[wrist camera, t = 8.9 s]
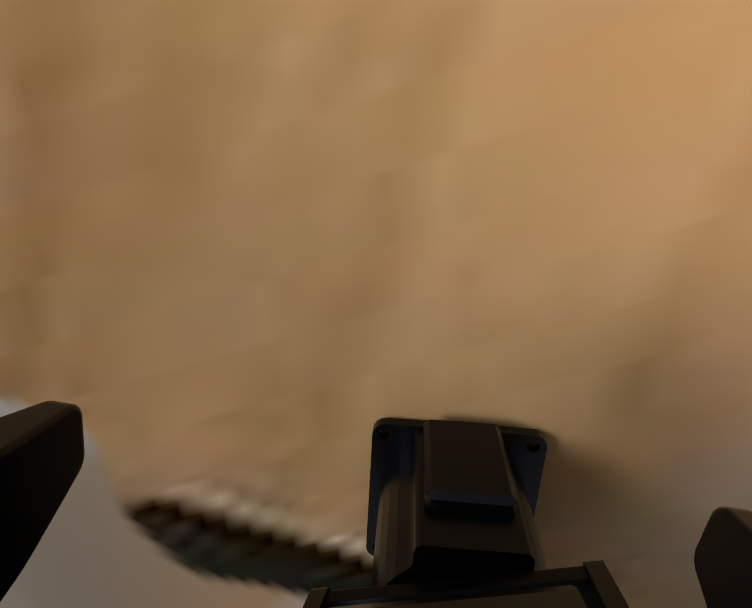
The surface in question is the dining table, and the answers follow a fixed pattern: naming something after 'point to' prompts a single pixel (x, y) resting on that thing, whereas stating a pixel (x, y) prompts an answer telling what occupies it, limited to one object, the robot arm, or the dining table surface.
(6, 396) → the dining table surface
